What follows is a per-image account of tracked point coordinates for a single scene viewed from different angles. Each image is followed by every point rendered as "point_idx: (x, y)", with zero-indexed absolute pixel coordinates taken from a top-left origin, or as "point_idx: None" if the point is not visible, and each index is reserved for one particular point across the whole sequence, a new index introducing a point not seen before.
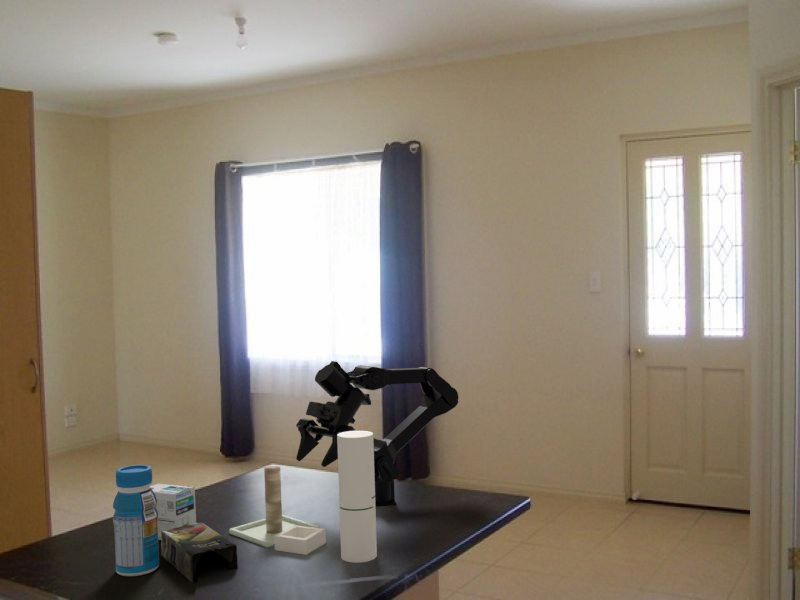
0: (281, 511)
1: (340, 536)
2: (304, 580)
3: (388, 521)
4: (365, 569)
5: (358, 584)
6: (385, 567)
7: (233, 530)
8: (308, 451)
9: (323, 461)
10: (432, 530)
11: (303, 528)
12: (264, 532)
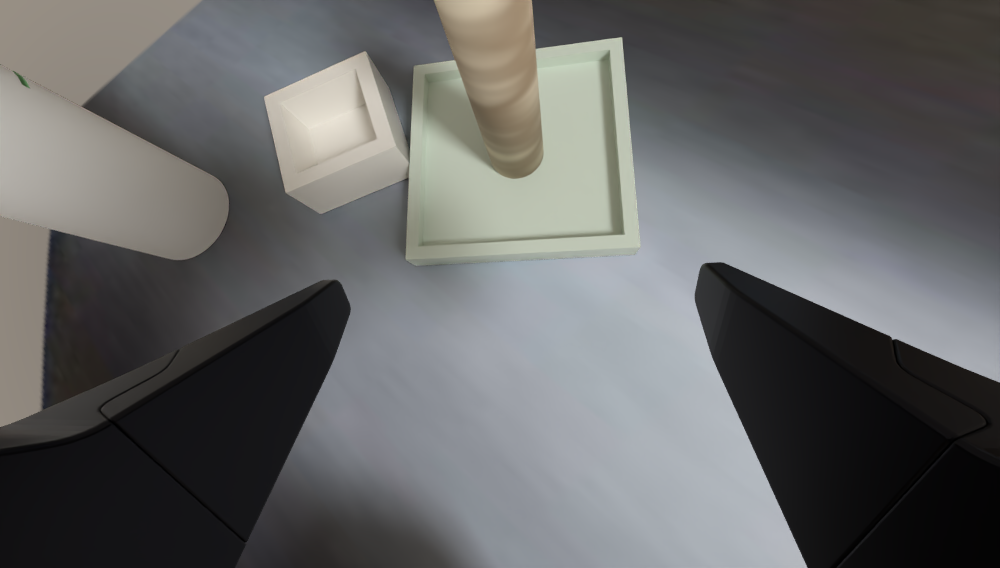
0: (482, 131)
1: (151, 144)
2: (209, 58)
3: (317, 523)
4: None
5: None
6: None
7: (595, 41)
8: (765, 448)
9: (305, 290)
10: None
11: (351, 151)
12: None
